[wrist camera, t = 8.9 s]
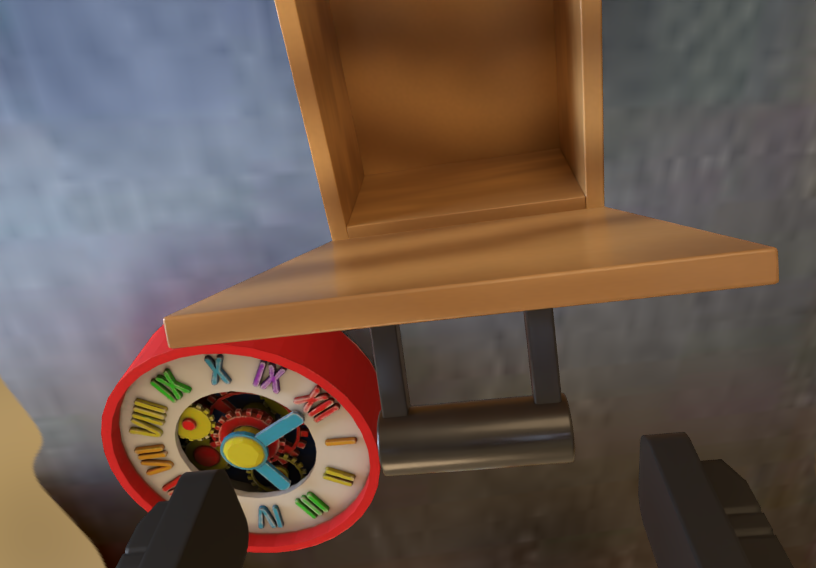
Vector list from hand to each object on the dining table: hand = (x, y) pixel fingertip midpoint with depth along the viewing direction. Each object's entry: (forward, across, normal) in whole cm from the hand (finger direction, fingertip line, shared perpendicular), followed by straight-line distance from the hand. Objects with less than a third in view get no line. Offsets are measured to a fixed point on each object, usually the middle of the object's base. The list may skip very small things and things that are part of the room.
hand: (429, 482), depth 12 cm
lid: (+12, -1, +1) cm, 12 cm away
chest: (+29, -1, -4) cm, 30 cm away
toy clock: (+29, +17, +22) cm, 40 cm away
